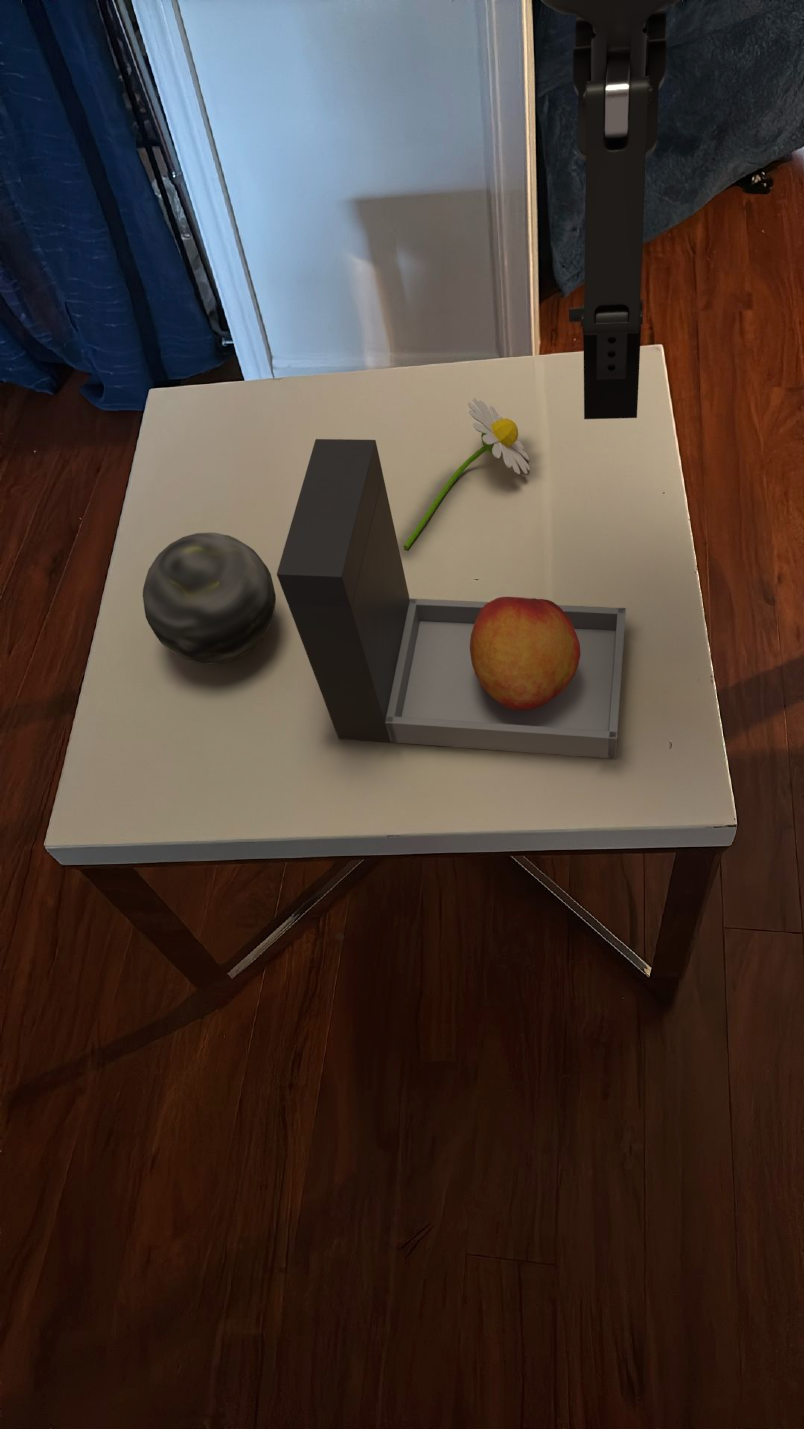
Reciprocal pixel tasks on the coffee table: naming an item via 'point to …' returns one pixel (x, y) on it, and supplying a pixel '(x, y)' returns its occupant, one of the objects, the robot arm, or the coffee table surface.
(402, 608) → the tray with tall back
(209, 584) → the decorative stone
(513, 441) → the decorative flower
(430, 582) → the coffee table surface
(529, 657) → the fruit
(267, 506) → the coffee table surface
